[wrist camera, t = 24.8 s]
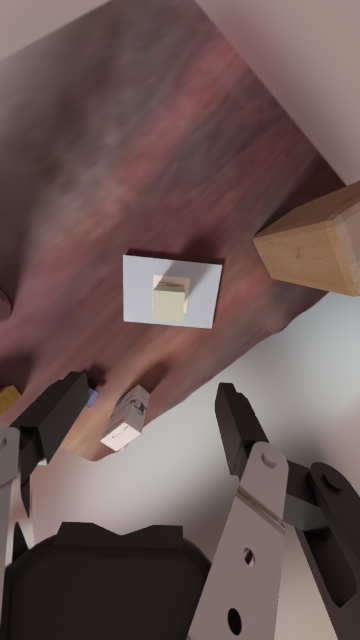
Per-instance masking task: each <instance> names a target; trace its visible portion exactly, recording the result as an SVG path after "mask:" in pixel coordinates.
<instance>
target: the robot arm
mask: <svg viewBox="0 0 360 640" xmlns="http://www.w3.org/2000/svg"><path fill="white" fill-rule="evenodd" d="M10 314H11V304H10V301H9V299H8V297H7V296H6V295H5V293H4V292H3V291H2V290H1V289H0V322H3V321H5V320H6V319H8V317H9V316H10ZM87 399H88V383H87V374H86V373H85V372H75V371H71V372H70V373H69V374H68V375H67V376H66V377H65V378H64V379H63V380H58V381H57V382H55V383H53V384H52V385H50V386H49V387H48V388H47V389H46V390H45V391H44V392H43V393H42V395H40V396H39V397H38V398H37V399H36V401H34V402H33V403H32V404H31V405H30V406H29V407H28V408H27V409H26V410H25V411H24V412H23V413H22V414H21V415H20V416H19V417H18V418H17V419H16V420H15V421H14V422H13V423H12V424H11V425H10V426H9V427H6V428H2V429H0V640H274V634H275V624H276V616H277V606H278V596H279V588H280V587H279V586H280V578H281V569H282V559H283V550H284V541H285V527H284V526H283V525H282V521H284V522H286V523H288V524H290V525H292V526H294V528H295V530H296V533H297V536H298V538H299V540H300V543H301V546H302V549H303V551H304V553H305V556H306V559H307V561H308V564H309V566H310V569H311V571H312V574H313V576H314V579H315V582H316V584H317V587H318V589H319V592H320V594H321V597H322V600H323V602H324V604H325V607H326V610H327V612H328V615H329V617H330V620H331V622H332V625H333V628H334V630H335V633H336V635H337V638H338V640H360V497H359V495H358V494H357V493H356V491H355V490H354V489H353V487H352V486H351V484H350V483H349V482H348V481H347V479H346V478H345V477H344V476H343V475H342V474H341V473H340V472H338V471H337V470H336V469H334V468H333V467H331V466H329V465H327V464H324V463H321V462H315V463H313V464H312V465H311V467H310V469H309V468H306V467H304V466H301V465H299V464H296V463H293V462H291V461H289V460H287V459H286V458H285V457H284V455H283V454H282V453H281V452H280V451H279V450H278V449H277V448H276V447H275V446H273V445H272V444H270V443H269V441H268V439H267V437H266V435H265V433H264V431H263V429H262V427H261V425H260V423H259V421H258V419H257V417H256V416H255V413H254V411H253V409H252V407H251V405H250V403H249V401H248V399H247V398H246V397H245V396H244V395H243V394H242V393H237V392H236V390H235V387H234V385H233V384H232V383H219V386H218V391H217V395H216V400H215V413H216V418H217V422H218V426H219V430H220V434H221V438H222V442H223V446H224V450H225V454H226V459H227V463H228V467H229V471H230V475H238V477H239V481H240V485H239V488H238V491H237V494H236V497H235V499H234V502H233V505H232V508H231V511H230V514H229V517H228V519H227V522H226V525H225V528H224V531H223V534H222V537H221V540H220V543H219V546H218V549H217V551H216V554H215V557H214V560H213V563H211V561H210V560H209V558H208V557H207V556H206V555H205V554H204V553H203V551H202V550H201V549H200V548H198V547H197V546H196V545H195V544H194V543H192V542H191V541H189V540H188V539H186V538H184V537H183V528H182V526H170V525H152V526H149V527H146V528H143V529H140V530H137V531H135V532H131V533H128V534H125V535H117V534H115V533H113V532H111V531H109V530H107V529H105V528H103V527H100V526H98V525H96V524H94V523H81V522H62V524H61V526H60V528H59V531H58V533H57V534H56V535H53V536H51V537H49V538H47V539H45V540H43V541H41V542H40V543H38V544H36V545H35V541H34V533H33V525H32V471H33V470H34V468H35V467H36V466H37V465H48V463H49V462H50V460H51V459H52V457H53V455H54V454H55V452H56V451H57V449H58V447H59V446H60V444H61V443H62V441H63V439H64V438H65V436H66V435H67V433H68V431H69V430H70V428H71V427H72V425H73V423H74V422H75V420H76V419H77V417H78V415H79V414H80V412H81V411H82V409H83V407H84V406H85V404H86V402H87Z"/></svg>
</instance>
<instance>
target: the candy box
mask: <svg viewBox="0 0 360 640" xmlns="http://www.w3.org/2000/svg"><path fill="white" fill-rule="evenodd" d="M20 397H21V394H20V393H19V392H18V390H17V389H16V387H15V386H14V385H12V386H8V387H4V388H0V416H1V415H2V414H3V413H4V412H5V411H6V410H7V409H8V408H9V407H10V406H11V405H12V404H14V403H15V402H16V401H17V400H18V399H19V398H20Z"/></svg>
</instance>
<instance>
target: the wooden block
mask: <svg viewBox="0 0 360 640" xmlns="http://www.w3.org/2000/svg"><path fill="white" fill-rule="evenodd" d="M253 243H254V245H255V247H256V249H257V251H258V253H259V255H260V257H261V259H262V261H263V263H264V265H265V266H266V268H267V270H268V272H269V274H270V276H271V277H272V278H273V279H277V280H282V281H286V282H291V283H295V284H300V285H304V286H308V287H313V288H317V289H322V290H326V291H331V292H335V293H340V294H345V295H349V296H360V181H358V182H356V183H354V184H351V185H349V186H346V187H344V188H341V189H339V190H337V191H334V192H332V193H329V194H327V195H325V196H322V197H320V198H318V199H315V200H313V201H310V202H308V203H306V204H303V205H301V206H298V207H296V208H294V209H292V210H291V211H290V212H288V213H287V214H285V215H284V216H282V217H281V218H280V219H278V220H277V221H275V222H274V223H272V224H271V225H270V226H268V227H267V228H265V229H264V230H262V231H261V232H260V233H258V234H257V235H256V236H255V237H254V238H253Z"/></svg>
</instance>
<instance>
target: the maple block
mask: <svg viewBox="0 0 360 640" xmlns="http://www.w3.org/2000/svg"><path fill="white" fill-rule="evenodd" d="M157 285H158V286H171V287H184V285H183V284H181V283H170V282H160V281H159V283H158V284H157Z"/></svg>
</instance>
